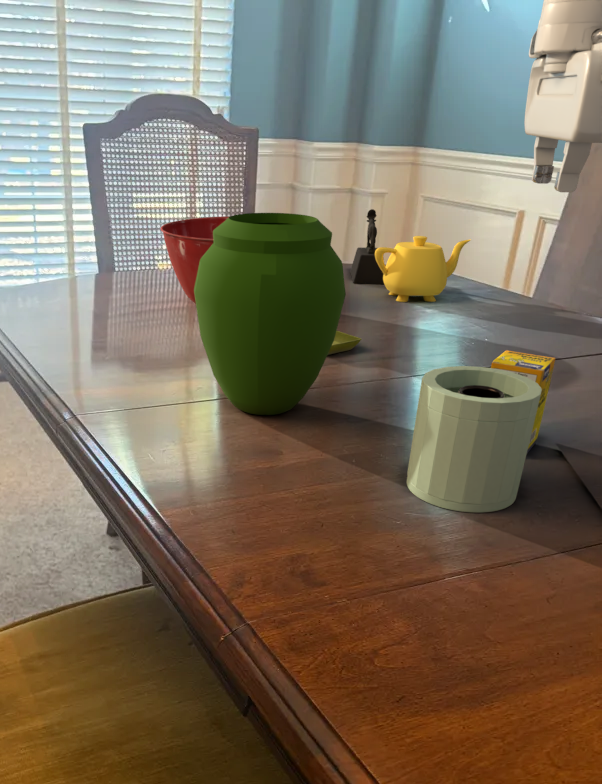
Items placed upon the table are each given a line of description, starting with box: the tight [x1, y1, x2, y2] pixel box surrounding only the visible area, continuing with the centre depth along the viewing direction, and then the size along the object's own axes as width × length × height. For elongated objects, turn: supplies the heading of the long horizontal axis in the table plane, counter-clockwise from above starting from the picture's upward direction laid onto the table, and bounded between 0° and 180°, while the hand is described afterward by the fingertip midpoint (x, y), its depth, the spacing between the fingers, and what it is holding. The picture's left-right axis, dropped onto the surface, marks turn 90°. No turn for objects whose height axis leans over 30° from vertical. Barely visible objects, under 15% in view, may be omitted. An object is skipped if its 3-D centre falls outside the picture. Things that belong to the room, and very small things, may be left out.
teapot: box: [375, 235, 472, 303], centre depth 164 cm, size 13×20×12 cm
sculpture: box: [349, 208, 385, 285], centre depth 180 cm, size 8×13×15 cm, turn 171°
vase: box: [194, 212, 347, 416], centre depth 101 cm, size 20×20×24 cm
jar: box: [406, 365, 542, 514], centre depth 82 cm, size 12×12×12 cm
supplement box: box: [490, 349, 556, 455], centre depth 93 cm, size 6×6×11 cm
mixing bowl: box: [160, 216, 230, 304], centre depth 155 cm, size 28×28×15 cm
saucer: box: [327, 330, 362, 356], centre depth 131 cm, size 9×9×2 cm
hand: (551, 187), depth 82 cm, fingers open, 8 cm apart
